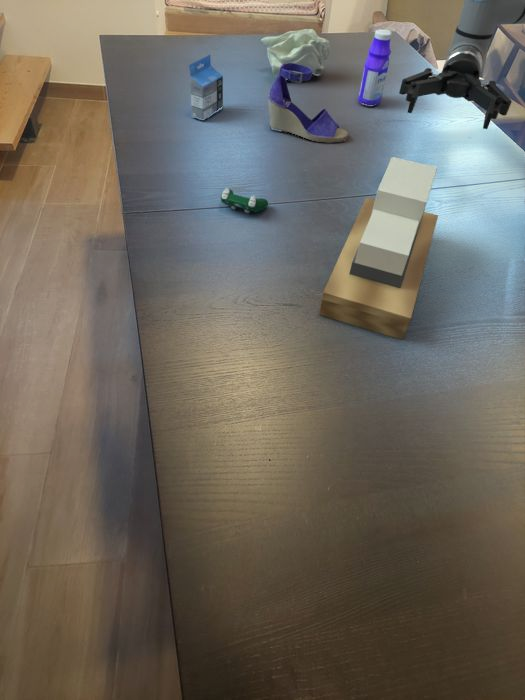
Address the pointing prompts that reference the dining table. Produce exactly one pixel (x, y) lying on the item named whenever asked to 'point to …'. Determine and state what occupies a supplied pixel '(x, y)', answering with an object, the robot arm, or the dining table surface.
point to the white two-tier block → (394, 222)
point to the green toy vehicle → (243, 201)
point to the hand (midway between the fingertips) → (449, 113)
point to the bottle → (375, 68)
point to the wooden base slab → (376, 284)
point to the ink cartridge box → (205, 88)
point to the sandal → (291, 116)
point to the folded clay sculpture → (297, 50)
